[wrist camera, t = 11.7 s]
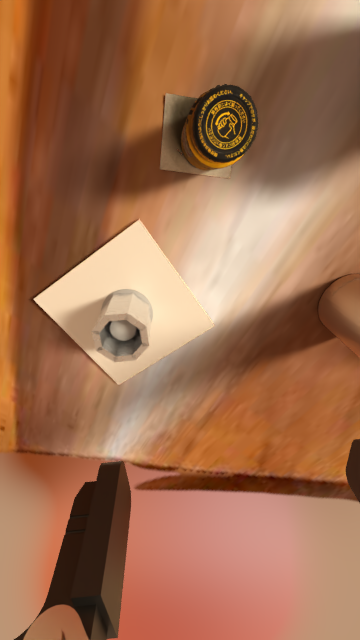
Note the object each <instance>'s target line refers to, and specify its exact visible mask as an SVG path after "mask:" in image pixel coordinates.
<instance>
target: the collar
mask: <svg viewBox="0 0 360 640" xmlns="http://www.w3.org/2000/svg"><path fill="white" fill-rule="evenodd" d="M118 320H127V321H128V322H130V323H131V324H133V325H134V326H136V327H137V329H136V332H135V335H134V336H133V337H132V338H131V339H129V340H125V341H122V340H118V339H116V338H115V337H114V336H113V335H112V334H111V332H110V326H111V323H112V321H118ZM150 331H151V314H150V307H149V303H148V302H146V301H145V300H144V299H142V298H141V297H140V296H138V295H137V294H135V293H134V292H129V293H118V294H113V296H112V297H111V298H110V300H109V301H108V302H107V303H106V305H105V306H104V307H103V309H102V311H101V313H100V315H99V317H98V319H97V321H96V323H95V325H94V327H93V329H92V335H93V339H94V344H95V348H96V351H97V352H99V353H101V354H102V355H104V356H105V357H107V358H108V359H110V360H112V361H113V362H123V361H134V360H137V359H138V357H139V356H140V355H141V354H142V353H143V352H144V351H145V350H146V349H147V348H148V347H149V342H150Z"/></svg>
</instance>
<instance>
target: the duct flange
mask: <svg viewBox="0 0 360 640" xmlns="http://www.w3.org/2000/svg"><path fill="white" fill-rule="evenodd" d="M129 292H134V293H135V294H137V295H138V296H140V297H141V298H142V299H144V300H145V301H146V302H148V303H149V307H150V314H151V331H150V342H149V347H148V348H147V349H146V350H145V351H144V352H143V353H142V354H141V355H140V356H139V357H138V359H137V360H134V361H123V362H113V361H112V360H110V359H108V358H107V357H105V356H104V355H102V354H101V353H99V352H97V351H96V348H95V344H94V339H93V335H92V329H93V327H94V325H95V323H96V321H97V319H98V317H99V315H100V313H101V311H102V309H103V307H104V306H105V305H106V303H107V302H108V301H109V300H110V298H111V297H112V296H113V294H118V293H129ZM33 300H34V301H35V302H36V303H37V304H38V305H39V306H40V307H41V308H42V309H43V310H44V311H45V312H46V313H47V314H48V315H49V316H50V317H51V318H52V319H53V320H54V321H55V322H56V323H57V324H58V325H59V326H60V327H61V328H62V329H63V330H64V331H65V332H66V333H67V334H68V335H69V336H70V337H71V338H72V339H73V340H74V341H75V342H76V343H77V344H78V345H79V346H80V347H81V348H82V349H83V350H84V351H85V352H86V353H87V354H88V355H89V356H90V357H91V358H92V359H93V360H94V361H95V362H96V363H97V364H98V365H99V366H100V367H101V368H102V369H103V370H104V371H105V372H106V373H107V374H108V375H109V376H110V377H111V378H112V379H113V380H114V381H115V382H116V383H117V384H118V385H120V384H122V383H123V382H125V381H127V380H128V379H130V378H131V377H133V376H135V375H136V374H138V373H139V372H141V371H143V370H144V369H146V368H148V367H149V366H151V365H152V364H154V363H156V362H157V361H159V360H161V359H162V358H164V357H165V356H167V355H169V354H170V353H172V352H173V351H175V350H177V349H178V348H180V347H182V346H183V345H185V344H186V343H188V342H190V341H191V340H193V339H195V338H196V337H198V336H199V335H201V334H203V333H204V332H206V331H207V330H209V329H211V328H212V327H214V326H215V325H214V323H213V321H212V320H211V318H210V317H209V316H208V314H207V313H206V311H205V310H204V309H203V307H202V306H201V304H200V303H199V302H198V300H197V299H196V298H195V296H194V295H193V293H192V292H191V291H190V289H189V288H188V286H187V285H186V284H185V282H184V281H183V279H182V278H181V277H180V275H179V274H178V272H177V271H176V270H175V268H174V267H173V265H172V264H171V263H170V261H169V260H168V258H167V257H166V256H165V254H164V253H163V251H162V250H161V249H160V247H159V246H158V244H157V243H156V242H155V240H154V239H153V237H152V236H151V235H150V233H149V232H148V231H147V229H146V228H145V226H144V225H143V224H142V222H141V221H140V219H139V220H137V221H136V222H135V223H133V224H132V225H131V226H129V227H128V228H127V229H125V230H124V231H123V232H121V233H120V234H119V235H117V236H116V237H115V238H113V239H112V240H111V241H109V242H108V243H107V244H105V245H104V246H103V247H101V248H100V249H99V250H97V251H96V252H95V253H93V254H92V255H91V256H89V257H88V258H87V259H86V260H84V261H83V262H82V263H80V264H79V265H78V266H76V267H75V268H74V269H72V270H71V271H70V272H68V273H67V274H66V275H64V276H63V277H62V278H60V279H59V280H58V281H56V282H55V283H54V284H52V285H51V286H50V287H48V288H47V289H46V290H44V291H43V292H42V293H40V294H39V295H38V296H36V297H35V298H34V299H33ZM136 329H137V327H136V326H134V325H133V324H131V323H130V322H128V321H127V320H118V321H112V323H111V326H110V332H111V334H112V335H113V336H114V337H115V338H116V339H118V340H122V341H125V340H129V339H131V338H132V337H133V336H134V335H135V332H136Z"/></svg>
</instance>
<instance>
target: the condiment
mask: <svg viewBox="0 0 360 640" xmlns="http://www.w3.org/2000/svg"><path fill="white" fill-rule="evenodd" d="M257 127H258V117H257V110H256V107H255V104H254V102H253V100H252V98H251V96H249V95H248V93H247V92H245V91H244V90H243V89H241V88H240V87H238V86H234V85H227V84H224V85H222V86H220V85H217V86H216V87H215V88H213V89H210V90H209V91H207V92H205V93H204V94H202V95H201V96H200V97H199V98H191V97H185V96H179V95H174V94H167V93H166V96H165V108H164V121H163V134H162V147H161V159H160V169H162V170H169V171H177V172H184V173H191V174H199V175H206V176H214V177H221V178H229V179H230V174H231V168H232V164H234V163H235V162H236V161H238V160H239V159H240V158H241V157H242V156H243V155H244V154H245V152H246V151H247V150H248V149H249V148H250V146H251V144H252V142H253V141H254V139H255V137H256V132H257ZM177 149H179V151H180V152H182V155H181V154H180V152H178V151H177Z"/></svg>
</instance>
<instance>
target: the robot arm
mask: <svg viewBox="0 0 360 640" xmlns="http://www.w3.org/2000/svg"><path fill="white" fill-rule="evenodd" d="M318 315H319V318H320V320H321V322H322V323H323V324H324V326H325V327H327V328H328V329H329V330H330V331H331V332H332V333H333V334H334V335H335V336H336V337H337V338H338V339H340V340H341V341H342V342H343V343H344V344H345V345H346V346H347V347H348V348H349V349H351V350H352V351H353V352H354V353H355V354H356V355H357V356H358V357H359V358H360V274H350V275H347V276H344V277H342V278H340V279H338V280H336V281H335V282H333V283H332V284H331V285H330V286H329V287H328V288H327V289H326V290H325V292H324V293H323V295H322V297H321V299H320V301H319V305H318ZM346 476H347V480H348V483H349V485H350V487H351V489H352V491H353V492H354V494H355V496H356V497H357V499H358V501H359V502H360V439H356V440H354V441H353V442H352V445H351V449H350V453H349V458H348V462H347V466H346ZM130 511H131V491H130V486H129V482H128V477H127V473H126V469H125V464H124V462H123V461H119V462H108V463H102V464H101V465H100V468H99V472H98V476H97V481H94V482H85V484H84V485H83V487H82V488H81V490H80V491H79V493H78V494H77V496H76V497H75V499H74V503H73V506H72V510H71V514H70V519H69V521H68V525H67V528H66V534H65V535H64V539H63V542H62V546H61V549H60V553H59V557H58V560H57V563H56V567H55V571H54V575H53V578H52V582H51V585H50V588H49V592H48V595H47V598H46V601H45V603H44V606H43V608H42V609H41V611H40V613H39V615H38V616H37V618H36V619H35V620H34V622H33V623H32V624H31V625H30V626H29V628H28V629H27V630H25V631H24V632H23V633H22V634H21V635H20V636H18V637H17V638H16V639H14V640H106V639H109V638H117V637H118V628H119V618H120V609H121V598H122V589H123V579H124V570H125V560H126V550H127V540H128V529H129V520H130Z"/></svg>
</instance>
